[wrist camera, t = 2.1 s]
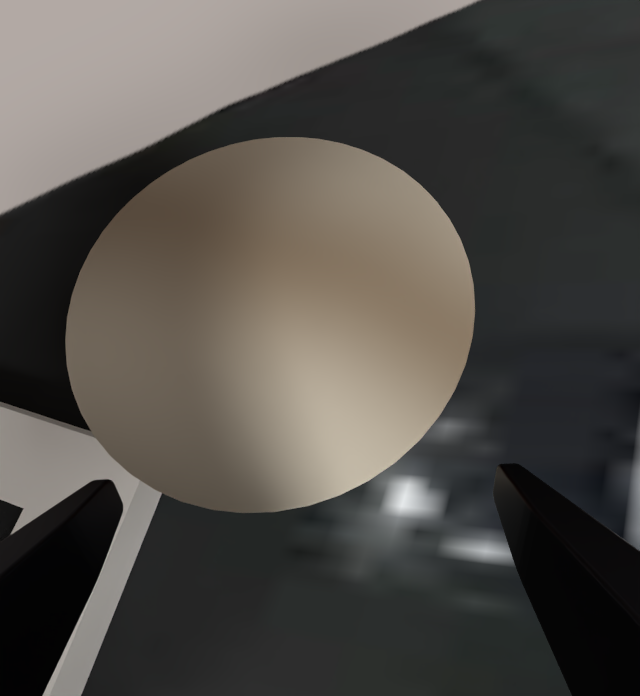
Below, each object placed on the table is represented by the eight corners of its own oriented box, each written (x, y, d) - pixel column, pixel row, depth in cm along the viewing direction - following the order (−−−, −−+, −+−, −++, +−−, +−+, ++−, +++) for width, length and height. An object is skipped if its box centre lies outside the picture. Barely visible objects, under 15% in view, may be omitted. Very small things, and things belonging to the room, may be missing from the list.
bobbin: (373, 507, 17) (428, 587, 4) (246, 466, 19) (-14, 433, 6) (403, 377, 19) (502, 165, 6) (286, 348, 21) (165, 117, 8)
